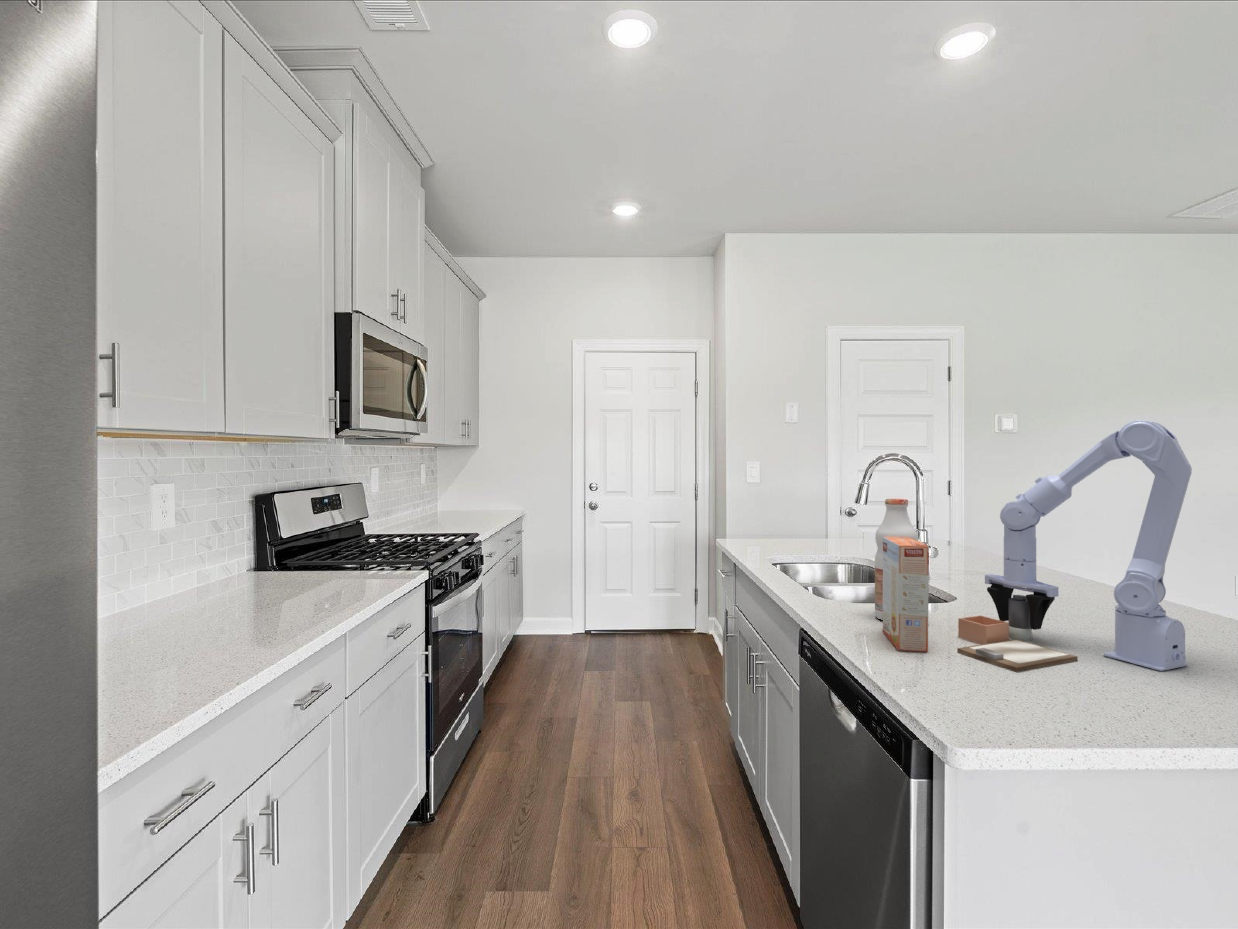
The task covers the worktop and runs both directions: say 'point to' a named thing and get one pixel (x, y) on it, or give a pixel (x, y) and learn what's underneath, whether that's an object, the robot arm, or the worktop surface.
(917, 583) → the cracker box
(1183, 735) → the worktop surface
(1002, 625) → the terracotta open box
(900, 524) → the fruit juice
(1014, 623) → the grey lidded canister
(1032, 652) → the clipboard
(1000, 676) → the worktop surface
